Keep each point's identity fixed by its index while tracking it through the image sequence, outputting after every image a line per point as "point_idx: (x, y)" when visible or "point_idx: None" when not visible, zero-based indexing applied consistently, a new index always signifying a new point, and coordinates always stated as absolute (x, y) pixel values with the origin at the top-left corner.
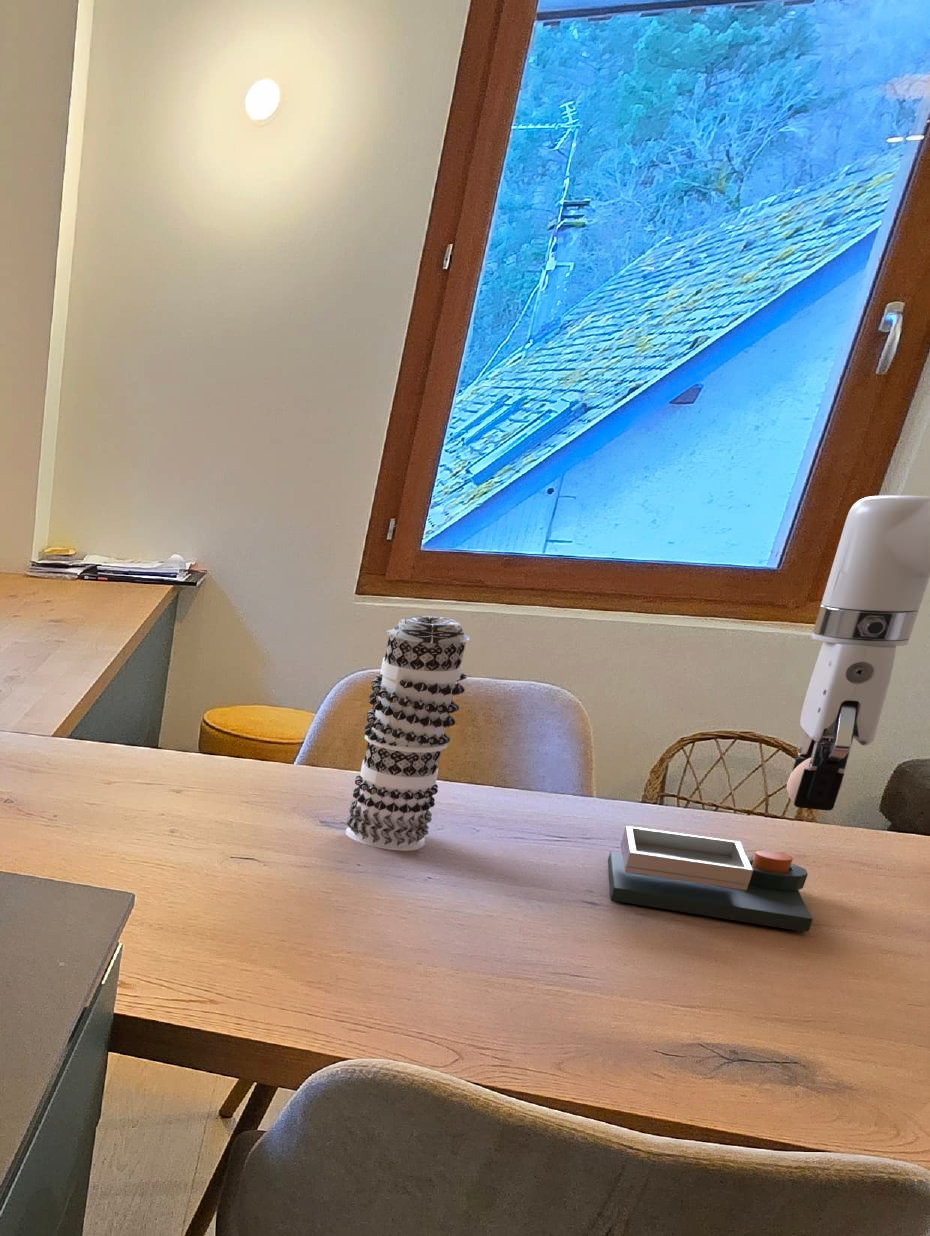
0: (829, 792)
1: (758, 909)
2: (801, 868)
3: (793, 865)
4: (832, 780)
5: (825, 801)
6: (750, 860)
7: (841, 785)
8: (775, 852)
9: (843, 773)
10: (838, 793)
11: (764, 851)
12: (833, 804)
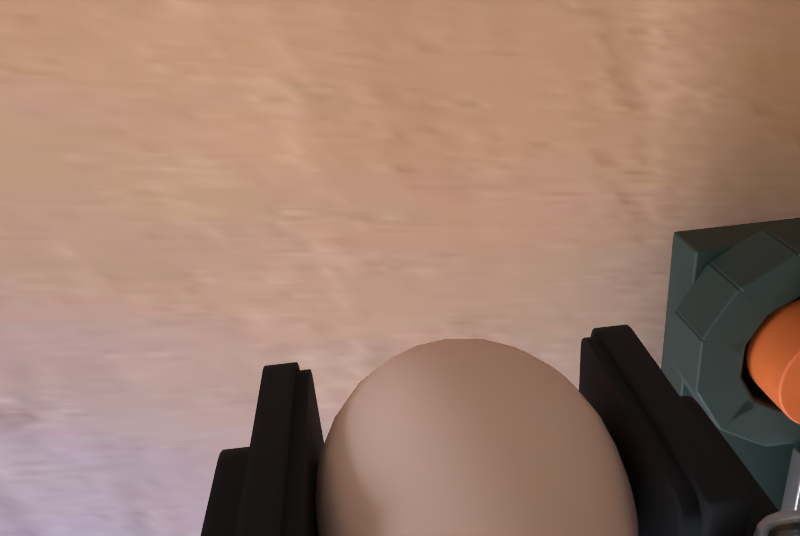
0: (716, 433)
1: None
2: (795, 265)
3: (765, 289)
4: (771, 503)
5: (685, 396)
6: (763, 408)
7: (537, 392)
8: (796, 377)
9: (745, 500)
10: (515, 356)
11: (797, 408)
12: (635, 342)
